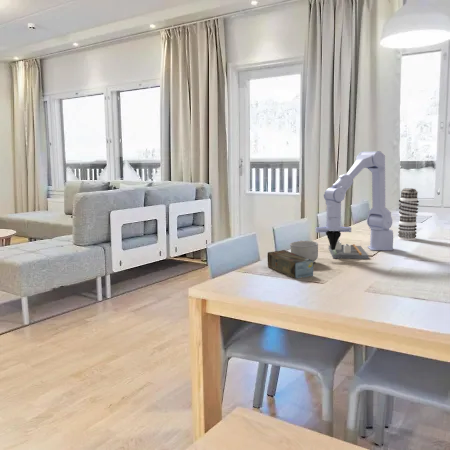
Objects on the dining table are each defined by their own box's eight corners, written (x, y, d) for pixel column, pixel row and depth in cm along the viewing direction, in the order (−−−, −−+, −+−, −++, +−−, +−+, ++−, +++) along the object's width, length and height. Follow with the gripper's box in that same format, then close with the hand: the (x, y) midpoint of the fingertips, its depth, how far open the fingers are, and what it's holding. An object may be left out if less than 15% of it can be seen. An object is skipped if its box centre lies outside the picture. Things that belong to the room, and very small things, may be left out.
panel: (360, 249, 206) (360, 244, 206) (368, 259, 186) (368, 253, 186) (328, 248, 208) (328, 243, 208) (333, 258, 188) (333, 252, 188)
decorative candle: (411, 241, 224) (414, 189, 220) (393, 238, 231) (395, 188, 227) (420, 238, 230) (423, 188, 226) (402, 236, 237) (405, 187, 233)
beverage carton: (295, 279, 158) (295, 260, 157) (266, 267, 175) (266, 250, 174) (314, 276, 161) (314, 258, 160) (284, 265, 178) (284, 248, 177)
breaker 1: (338, 245, 205) (338, 238, 205) (339, 247, 202) (339, 239, 201) (333, 245, 206) (333, 238, 205) (333, 247, 202) (334, 239, 202)
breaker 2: (340, 248, 199) (340, 241, 199) (341, 250, 196) (341, 242, 195) (334, 248, 199) (334, 240, 199) (335, 250, 196) (335, 242, 195)
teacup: (317, 266, 175) (318, 245, 174) (289, 265, 177) (289, 245, 176) (317, 258, 189) (318, 239, 187) (291, 257, 191) (291, 238, 190)
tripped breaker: (349, 251, 192) (349, 243, 192) (350, 253, 189) (350, 245, 188) (343, 251, 193) (343, 243, 192) (344, 253, 189) (344, 245, 189)
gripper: (348, 215, 193) (347, 247, 195) (313, 215, 193) (313, 247, 195) (353, 217, 186) (352, 250, 188) (317, 218, 186) (317, 251, 188)
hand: (332, 249), depth 191 cm, fingers closed
